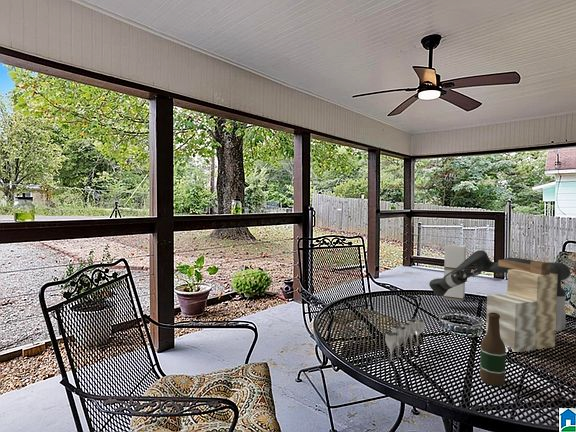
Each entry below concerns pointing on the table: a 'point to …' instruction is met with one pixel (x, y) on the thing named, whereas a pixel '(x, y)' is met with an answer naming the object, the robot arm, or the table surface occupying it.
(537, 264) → the wooden mallet
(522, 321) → the step shelf
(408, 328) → the goblet set
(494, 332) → the beer bottle
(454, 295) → the white tall block
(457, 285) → the robot arm
